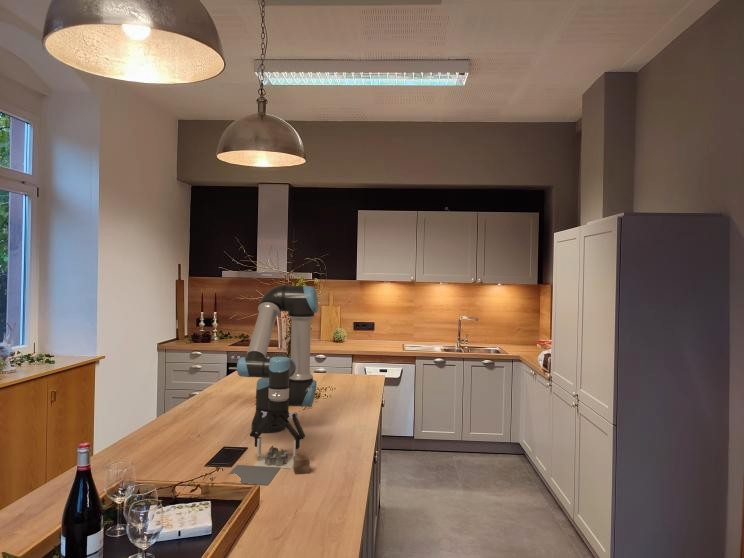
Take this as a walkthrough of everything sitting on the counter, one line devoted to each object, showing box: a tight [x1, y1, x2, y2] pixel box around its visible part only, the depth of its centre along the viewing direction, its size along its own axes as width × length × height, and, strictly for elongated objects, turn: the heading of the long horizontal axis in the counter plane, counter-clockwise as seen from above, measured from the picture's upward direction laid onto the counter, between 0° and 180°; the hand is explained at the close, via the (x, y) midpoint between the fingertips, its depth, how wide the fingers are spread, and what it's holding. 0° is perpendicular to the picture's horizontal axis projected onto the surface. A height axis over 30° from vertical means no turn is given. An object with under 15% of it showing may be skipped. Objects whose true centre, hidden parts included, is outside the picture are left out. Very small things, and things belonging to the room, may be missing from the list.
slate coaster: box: [227, 464, 282, 486], centre depth 182 cm, size 16×16×1 cm
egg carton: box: [264, 445, 290, 466], centre depth 196 cm, size 11×8×4 cm
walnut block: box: [292, 454, 311, 476], centre depth 187 cm, size 5×5×5 cm
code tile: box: [253, 454, 294, 470], centre depth 196 cm, size 14×12×1 cm
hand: (276, 456), depth 195 cm, fingers open, 13 cm apart
